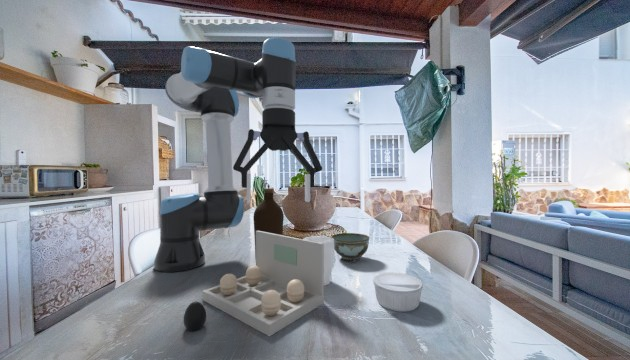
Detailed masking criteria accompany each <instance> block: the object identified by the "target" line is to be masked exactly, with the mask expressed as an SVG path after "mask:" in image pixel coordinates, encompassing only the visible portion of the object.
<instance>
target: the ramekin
mask: <svg viewBox="0 0 630 360" xmlns="http://www.w3.org/2000/svg"><path fill="white" fill-rule="evenodd" d="M372 281H373V285H374V291H375V292H374V293H375V298H376V300H377V302H378V303H379V305H380V306H382V307H384V308H385V309H387V310H390V311H394V312H399V313H401V312H402V313H403V312H404V313H405V312H411V311H414V310H416V309H417V308H418V307H419V306H420V302H421V296H422V291H423V290H424V289H423V288H424V285H423V282H422V281H421V279H419V278H418V277H415V276H413V275H410V274H407V273H401V272H394V271H393V272H391V271H390V272H382V273H378V274H376V275H375V276H374V277H373V280H372Z"/></svg>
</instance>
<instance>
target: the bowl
mask: <svg viewBox="0 0 630 360" xmlns="http://www.w3.org/2000/svg"><path fill="white" fill-rule="evenodd" d="M331 238H333V239H334V252H335V253H336V254H338V256H340V257H341V260H342V261H345V262H357V261H359V260H360V257H362V256H364V254H366V253H367V251H368V248H369V245H370V244H369V243H370V236H368V235H366V234H363V233H356V232H354V233H353V232H341V233H335V234H332V235H331Z"/></svg>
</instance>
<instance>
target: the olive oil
mask: <svg viewBox="0 0 630 360" xmlns="http://www.w3.org/2000/svg"><path fill="white" fill-rule="evenodd" d="M252 217H253V233H254V255H255V256H254V257H255V258H254V259H255V260H256V231H263V232H268V233H273V234H278V235H283V236H284V211H283V209H282V207H281V206H280V205H279V204H278V203H277V202H276V201H275V200H274V189H273V188H264V189H263V200H262V201H261V202H260V203H259V204H258V205H257V207H256V208H255V209H254V212H253V216H252Z"/></svg>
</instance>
